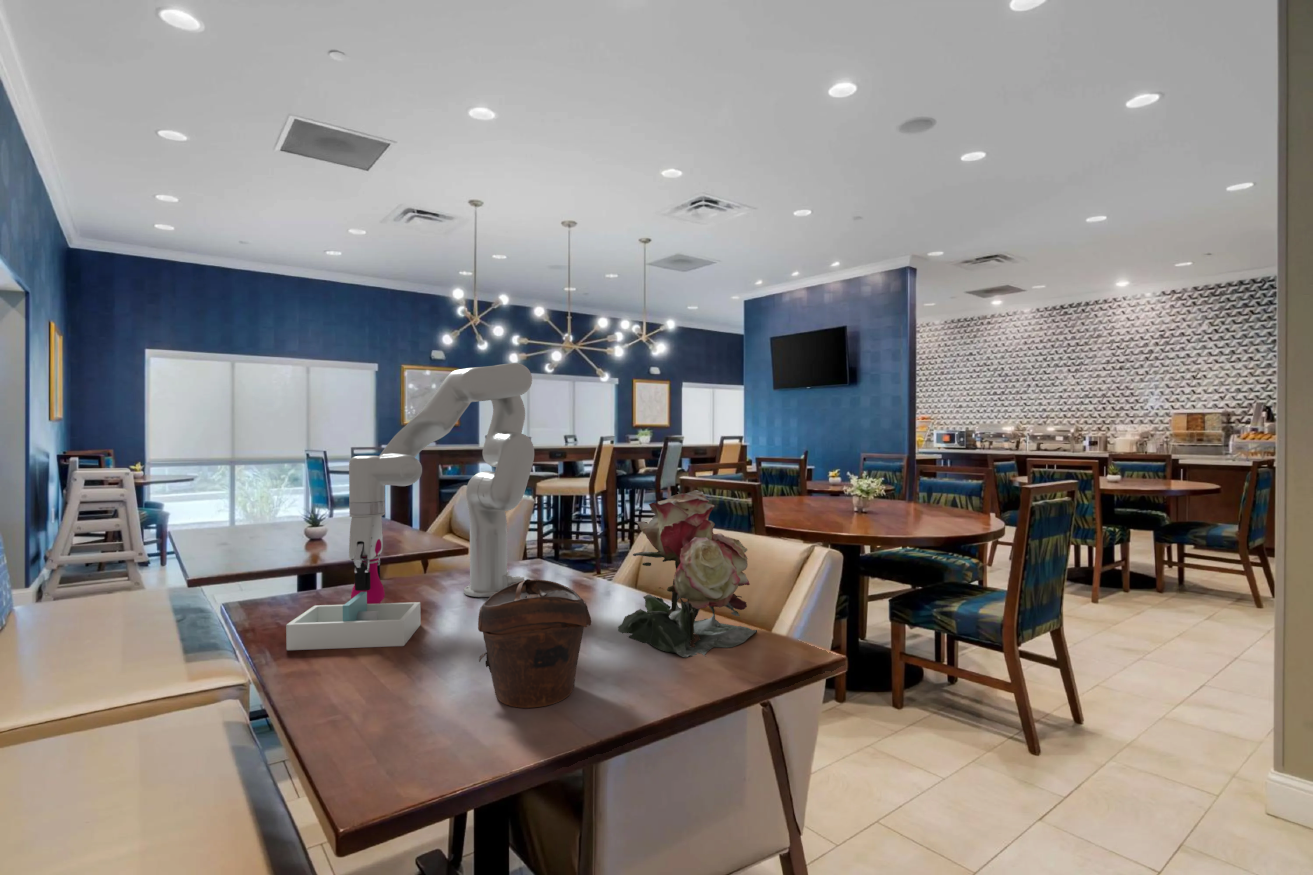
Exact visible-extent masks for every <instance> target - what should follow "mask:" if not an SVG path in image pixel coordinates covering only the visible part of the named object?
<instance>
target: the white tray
mask: <svg viewBox="0 0 1313 875" xmlns="http://www.w3.org/2000/svg"><path fill="white" fill-rule="evenodd" d="M343 605H344V604H321V605H320V604H319V605H316V604H315V605H313V606H312V607H310V608H308V609H307V610H306V611H305V612H303V613H302V614H300V615H298V616H297V617H296V618H294V619H292V620H291V621H290V622H288V623H287V624H286V625H285V626H286V628H285V630H286V632H285V633H286V634H285V636H286V643H285V644H286V651H302V650H303V651H305V650H306V651H307V650H328V649H329V650H331V649H353V648H354V649H355V648H381V647H383V648H384V647H404V646H405V645H406V644H407V643H408V642H409V640H410V639H411V638H412V636H413V635H414V634H415V632H416V631H417V630H418V629H419V628H420V627H421V602H420V601H418V602H415V601H413V602H388V603H386V602H383V603H382V602H381V603H378V604H367V611H378V620H370V621H343Z"/></svg>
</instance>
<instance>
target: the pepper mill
mask: <svg viewBox="0 0 1313 875" xmlns="http://www.w3.org/2000/svg"><path fill="white" fill-rule="evenodd" d="M381 548H382V549H383V546H382V544H381V541H380V539H378V540H377V542H376V547H375V552H376V557H374V558H373V559H371V560H370V565H369V572H370V585H371V588H370V590H359V591H356V590H355V583H354V585H353V586H352V590H351V593H350V600H351V599H352V598H354V597H355V596H356V595H357V594H359V593H360V592H367V604H378V603H382V602H383V601H384V599H385V597H386V593H385V587H384V585H383V583H382V581H381V577H380V578H379V576H378V570H377V563H378V562H379V557H380V556H379V555H378V553H379V552H380V550H381ZM364 558H367V557H362V559H364ZM364 564H365V565H366V562H364Z"/></svg>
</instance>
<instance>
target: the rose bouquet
mask: <svg viewBox="0 0 1313 875" xmlns="http://www.w3.org/2000/svg"><path fill="white" fill-rule="evenodd" d="M677 493H678V494H675V495H671V496H669V497H668V498H666V499H663V500H660V501H659V500H658V501H656V502H650V503H648V506H649V508H650V512H651V513H653V514H654V516H653V517H651V519H650V520H649V522H646V521H637V520H635V521H634V523H635V524H637V525H638V527H639V530H640V531H641V532H642V534H643V535H645V537H646V539H648V541H649V542H650V544H651V545H652V546H653V548H654V549H655V550H656V551H640V552H635V553H632V556H633V557H637V556H641V557H648V558H655V559H656V558H657V559H660V558H663V560H662V562H671V561H673V562H674V565H675V572H674V575H673V581H672V585H670V586H668V587H667V588H666V590H667V592H670V593H671V605H669V604H667V603H666V602H665V601H664V599H663V598H662V597H657V596H656V595H655V596H654V595H652V594H647V595H644V596H642V598H643V600H644V607H645V609H646V610H643V609H642V608H640V609H638V610H636V611H634V612H633V613H630V614H627V615H625V616H624V618H623V620H622V622H621V624H620V625H618V627H617V632H619V633H621V634H623V635H624V634H630V635H629V636H627V635H626V637H627V638H629V639H631V640H636V641H637V642H639V643H642V644H650V645H651V646H653V647H654V648H656V649H658V650H659V651H663V652H665V653H670V654H677V655H678V656H680V657H682V658H685V659H686V658H691V657H694V656H697V655H698V654H702V655H703V656H704V657H705V658H707V655H706V654H707V653H708V652H709V651H710V650H711V649H713V648H726V649H727V648H729V649H730V648H733V647H736V646H738V645H741V644H744V643H745V642H746V641H747V640H748V639H749V638H750V637H751V636H753V635H754V634H756V633H758V629H752V628H750V627H746V626H743V625H739V626H738V625H733V624H726V623H721V622H720V621H719V620H717V619H716V614H715V610H716V609H715V608H722V607H726V608H727V609H729V610H731V612H730V613H731V615H733V616H736V617H740V613H739V611H742V610H746V608H747V607H748V605H747V602H746V601H745V600H742V598H743V597H742V596H740V595H736V593H735V592H736V591H737V590H738V588H739V587H743V586H750V585H751V584H750V581H749V579H748V577H747V575H746V573H745V572H744V571H746V570H747V569H748V560H749V559H748V556H747V555H746V553H747V552H748V548H747V547H745V546H744V545H743V543H742V542H741V541H740V539H735V538H733V537H729V536H725V535H724V534H723V533H719V532H718V533H714V528H715V525H716V524H715V522H714V521H712V520H709V519H710V518H709V517H710V514H711V512H712V511H713V510H714V508H715V504H711V503H709V502H710V500H708V499H707V496H706V495H704V492H703V491H699V490H697V489H696V490H695V489H694V490H691V491H689V492H687V493H680V492H679V491H677ZM607 565H608V564H607V563H606V564H605V566H606V567H608V566H607ZM642 566H644V567H652V562H649V561H646V562H642ZM615 580H616V579H615ZM658 589H662V590H664V588H663V587H658ZM740 598H741V599H740ZM679 599H680V603H681V604H680V606H681V607H679V605H678V602H679ZM683 599H685V600H687V601H683ZM707 607H709V609H710V610H711V612H712V616H711V617H709V618H704V619H701V620H696V618H697V616H698V614H699V612H700V609H705V608H707ZM737 610H739V611H737ZM695 635H696V636H698V638H699V639H697V640H696V638H695ZM694 640H696V641H695V642H693V643H692V644H693V645H694V647H693V646H692V645H691V642H692V641H694Z"/></svg>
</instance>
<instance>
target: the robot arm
mask: <svg viewBox="0 0 1313 875" xmlns="http://www.w3.org/2000/svg"><path fill="white" fill-rule="evenodd" d="M532 376H533V375H532V374H531V371H530V369H529V368H528V367H527V366H526V365H524V364H522V363H518V362H511V363H504V364H495V365H488V366H487V365H486V366H476V367H466V368H460V369H456V370H452V372H450V373H449V374H448V375H446V377H445V379H444V380H443V381H442V382H441V383H440V385H439V386H438V387H437V389H436V390H435V391H434V393H433V394H432V395H431V397H430V398H429V399H428V401H427V402H426V403H425V405H424V406H423V408H421V411H420V412H418V413H417V414H416V415H415V416H414V417H413V418H411V420H410V421H409V422H408V423H407V424H406V425H404V426H403V427H401V429H400V430H399V431H398V432H397V433H396V434H395V435H394V436H393V437H392V439H391V440H390V441H389V442H388V443H387V445H386V446H385V447H384V449H383V450H382V451H381V453H380V454H379V455H357V456H356V455H355V456H353V457H351V458H350V460H349V462H348V463H349V464H348V480H349V481H348V482H349V483H348V484H349V486H348V488H349V489H348V490H349V491H348V492H349V493H348V494H349V495H348V496H349V497H348V498H349V500H348V501H349V502H348V503H349V504H348V505H349V506H348V508H349V513H348V514H349V517H350V518H351V520H350V528H349V538H348V539H349V542H348V559H349V560H350V561H353V563H354V565H353V567H354V584H355V590H356V591H359V590H370V588H371V585H370V572H369V565H370V560H371V559H373V558H374V557H376V552H375V547H376V542H377V540H378V539H380V541H381V544H382V548H381V550H380V552H379V553H378V555H379V562H378V563H377V570H378V576H379V578H380V579H381V558H380V557H381V553H383V542H384V541H383V540H384V539H383V538H384V537H383V521H382V517H383V516H384V515H385V514H386V497H385V496H386V495H385V494H386V491H385V490H386V488H385V486H397V487H406V486H411V485H413V484H415V483H417V482H418V481H419V480H420V478H421V476H422V474H423V466H422V464H421V462H420V461H419V460H418V459H417V458H416V457H417V455H418V454H420V453H421V452H422V450H424V449H426V447H427V446H429V445H430V444H432V443H434V442H436V441H438V440H440V439H442V438H444V437H445V436H446V435H448V434H449V433H450V432H451V431H452V429H453V428H454V427H455V425H456V424H457V423H458V421H459V419H460V418H461V417H462V415H463V414H464V413H465V411H466V410H467V409H468V408H469V406H470V404H471V403H475V402H476V403H477V402H485V401H486V402H487V401H491V405H492V417H491V419H490V420H491V421H490V425H489V428H488V431H487V434H486V436H485V440H484V444H483V447H482V451H481V452H482V458H483V461H484V462H485V463H486V464H487V465H488V466H490V467H493V468H495V471H489V470H485V471H481V472H477V473H476V474H475V475H473V476H472V477H471V478H470V479H469V480H468V483H467V485H466V491H465V493H466V502H467V508H468V516H469V518H468V519H469V584H468V585H467V586H465V587H464V588H463V593H464V595H466V596H468V597H472V598H473V597H475V598H490V597H491V596H492V595H493V594H495V593H497V592H498V591H500V590H501V589H503V588H505V587H507V586H510V585H512V584H515V583H518V582H521V581H524V580H525V577H523V576H521V575H520V576H519V575H517V576H516V575H515V576H513V575H510V571H508V523H507V522H508V520H507V515H506V512H509V511H512V510H513V509H515V508H517V507H518V506H519V504H520V503H521V502H522V499H523V498H524V495H525V493H526V492H525V491H526V488H527V486H528V483H529V479H530V475H531V472H532V468H533V465H534V459H535V447H534V443H533V441H532V440H531V438H530V437H529V436H527V435H526V434H524V433H523V428H524V425H525V420H526V408H525V404H524V401H523V399H522V395H524V394H526V393H527V392H528V391H529V390H530V388H531V387H532V383H533V377H532ZM362 557H367V558H364V559H362ZM364 562H366V565H365V564H364Z"/></svg>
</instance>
